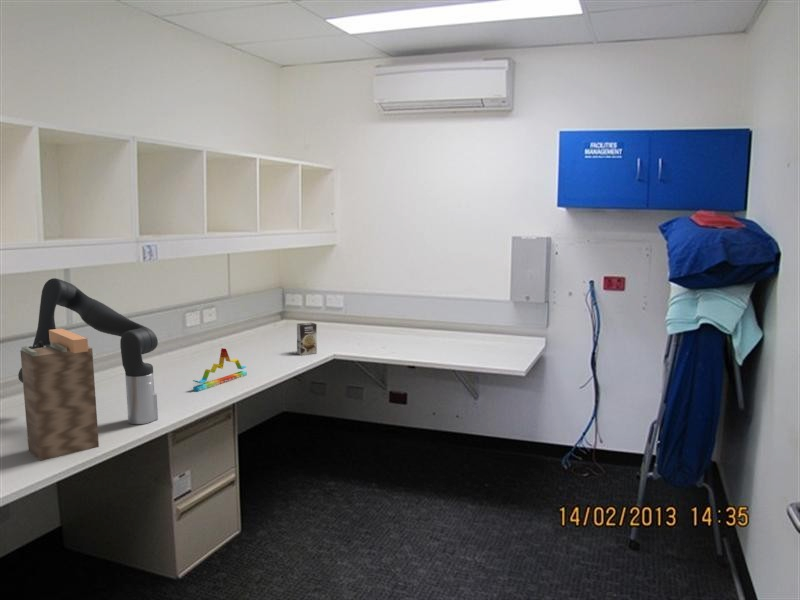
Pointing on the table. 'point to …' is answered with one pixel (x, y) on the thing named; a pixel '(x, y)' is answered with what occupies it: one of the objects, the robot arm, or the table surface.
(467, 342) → the table surface
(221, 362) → the chart
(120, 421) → the table surface
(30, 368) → the stand
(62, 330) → the tan wooden block
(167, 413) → the table surface
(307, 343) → the coffee box
